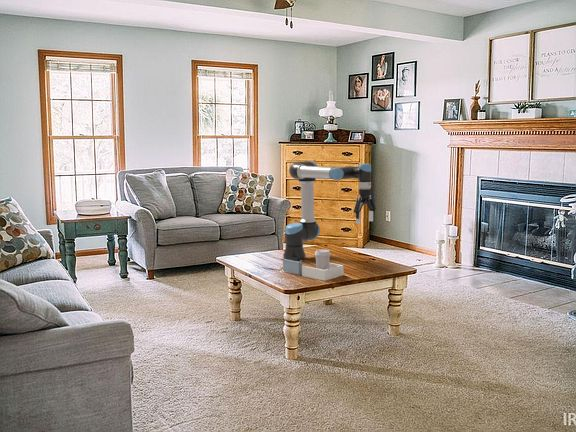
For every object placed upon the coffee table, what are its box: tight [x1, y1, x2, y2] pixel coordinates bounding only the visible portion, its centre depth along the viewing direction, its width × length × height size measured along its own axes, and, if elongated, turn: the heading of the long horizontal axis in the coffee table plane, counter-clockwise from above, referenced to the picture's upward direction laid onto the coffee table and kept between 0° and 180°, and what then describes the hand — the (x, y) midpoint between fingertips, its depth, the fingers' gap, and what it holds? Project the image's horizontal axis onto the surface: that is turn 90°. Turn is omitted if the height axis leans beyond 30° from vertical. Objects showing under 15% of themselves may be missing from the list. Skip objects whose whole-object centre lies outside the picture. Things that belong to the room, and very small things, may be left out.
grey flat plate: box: [282, 258, 300, 275], centre depth 341 cm, size 13×1×7 cm, turn 46°
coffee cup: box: [314, 248, 332, 270], centre depth 335 cm, size 10×10×15 cm
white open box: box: [299, 260, 344, 282], centre depth 336 cm, size 19×18×9 cm
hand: (364, 222), depth 355 cm, fingers open, 13 cm apart
